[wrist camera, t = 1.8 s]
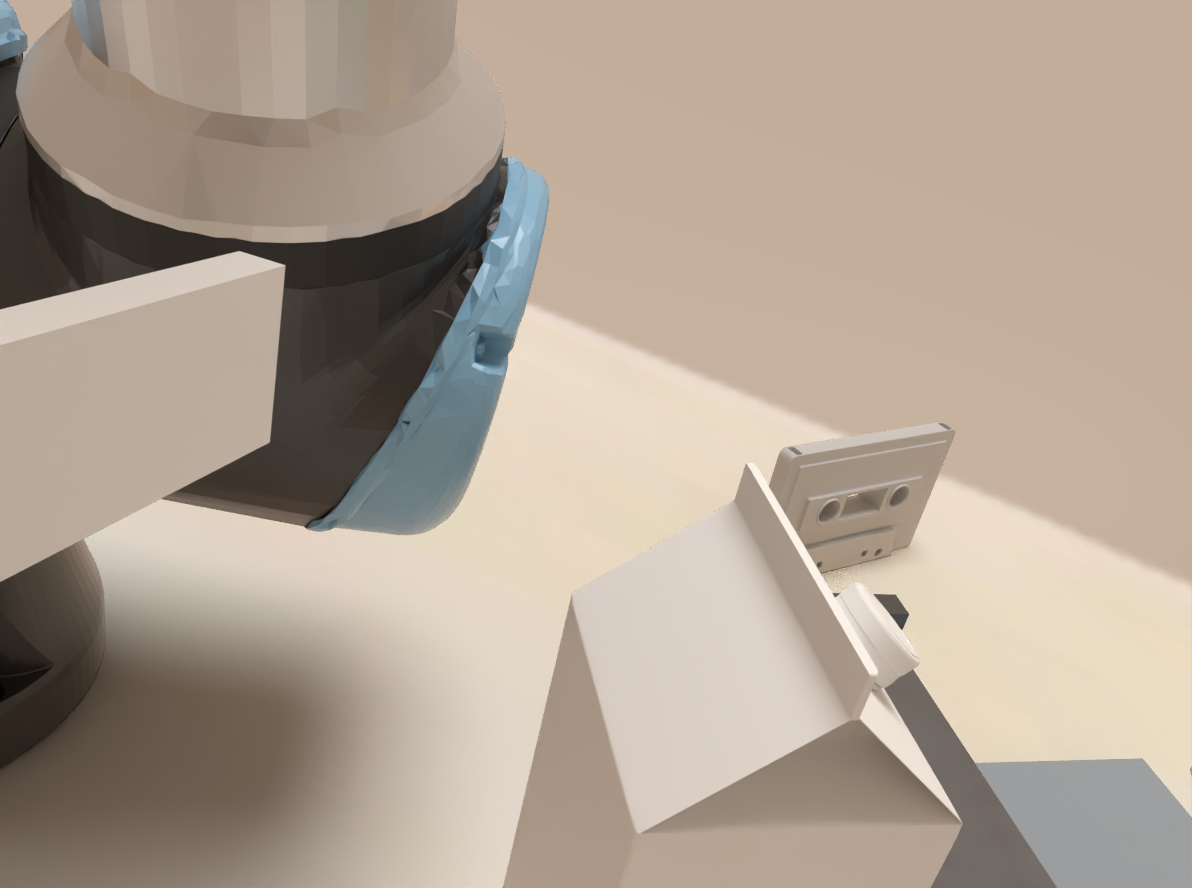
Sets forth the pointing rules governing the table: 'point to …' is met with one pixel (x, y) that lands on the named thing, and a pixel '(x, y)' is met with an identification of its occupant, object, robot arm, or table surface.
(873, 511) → the cassette
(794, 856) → the milk carton
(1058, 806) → the slate mat
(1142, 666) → the table surface
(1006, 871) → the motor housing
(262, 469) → the robot arm
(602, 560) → the table surface
